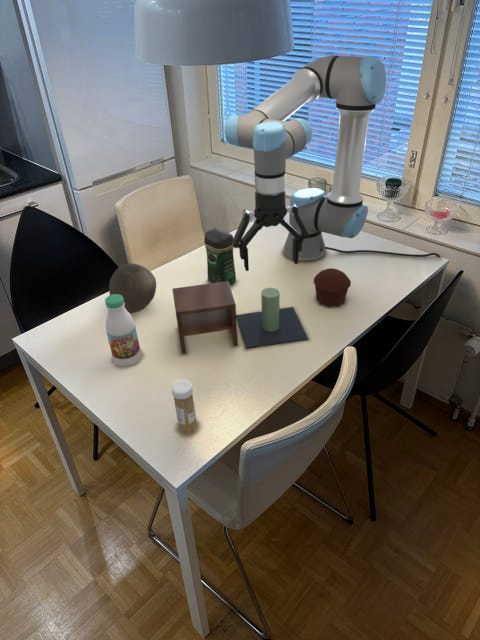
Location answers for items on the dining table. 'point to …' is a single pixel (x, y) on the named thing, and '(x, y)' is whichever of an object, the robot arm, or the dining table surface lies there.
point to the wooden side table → (205, 310)
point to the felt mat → (286, 333)
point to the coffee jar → (220, 256)
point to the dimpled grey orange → (133, 286)
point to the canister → (270, 309)
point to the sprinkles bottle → (184, 406)
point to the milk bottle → (121, 332)
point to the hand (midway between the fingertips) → (271, 265)
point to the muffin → (331, 287)
